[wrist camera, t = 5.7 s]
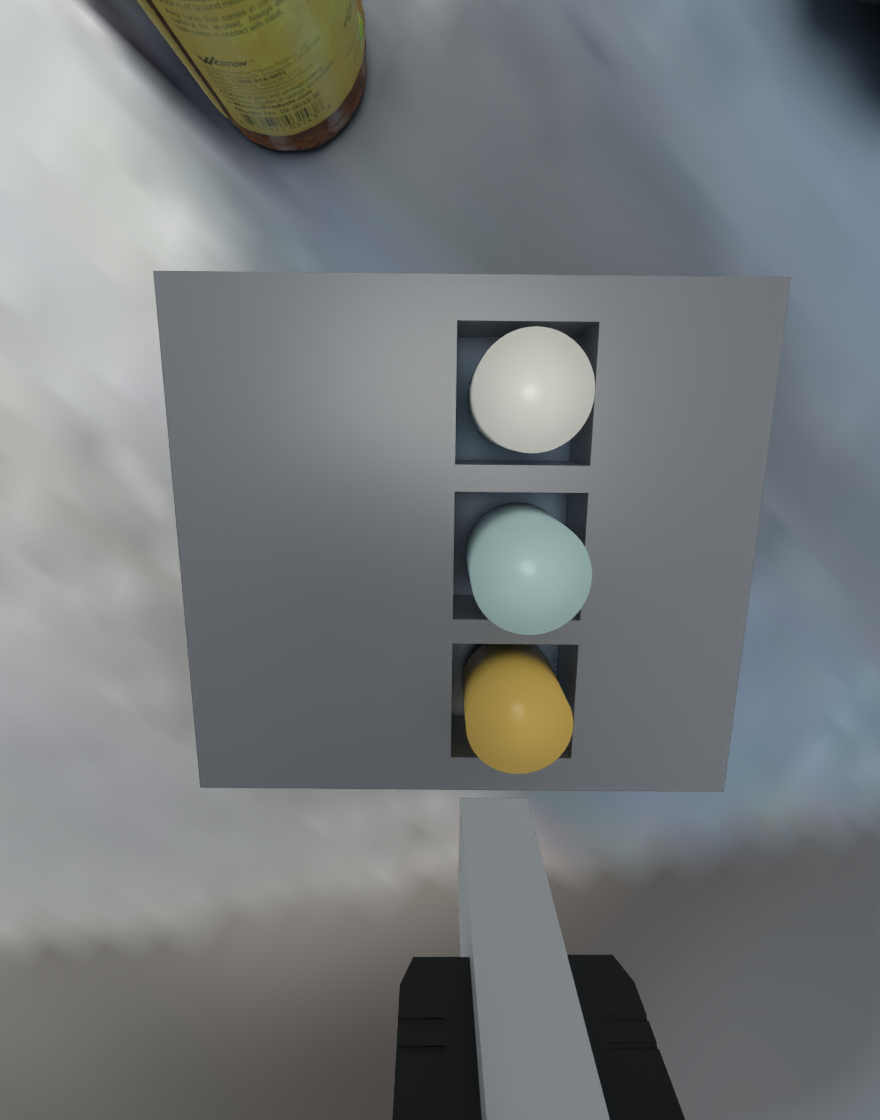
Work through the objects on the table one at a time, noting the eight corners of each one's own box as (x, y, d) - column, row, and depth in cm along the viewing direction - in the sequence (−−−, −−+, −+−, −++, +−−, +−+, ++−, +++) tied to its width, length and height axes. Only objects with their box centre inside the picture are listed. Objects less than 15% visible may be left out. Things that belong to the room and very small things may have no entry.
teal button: (464, 600, 23) (469, 634, 19) (466, 502, 23) (472, 516, 19) (563, 601, 23) (588, 635, 19) (569, 503, 23) (596, 518, 19)
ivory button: (466, 449, 23) (471, 452, 19) (468, 344, 22) (474, 325, 18) (565, 450, 23) (590, 454, 19) (571, 345, 22) (599, 326, 18)
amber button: (461, 721, 26) (464, 773, 22) (462, 637, 25) (466, 675, 21) (550, 722, 26) (570, 774, 22) (554, 638, 25) (576, 676, 21)
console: (229, 743, 28) (200, 787, 24) (195, 294, 23) (153, 270, 20) (688, 747, 28) (723, 792, 24) (739, 299, 23) (790, 277, 20)
